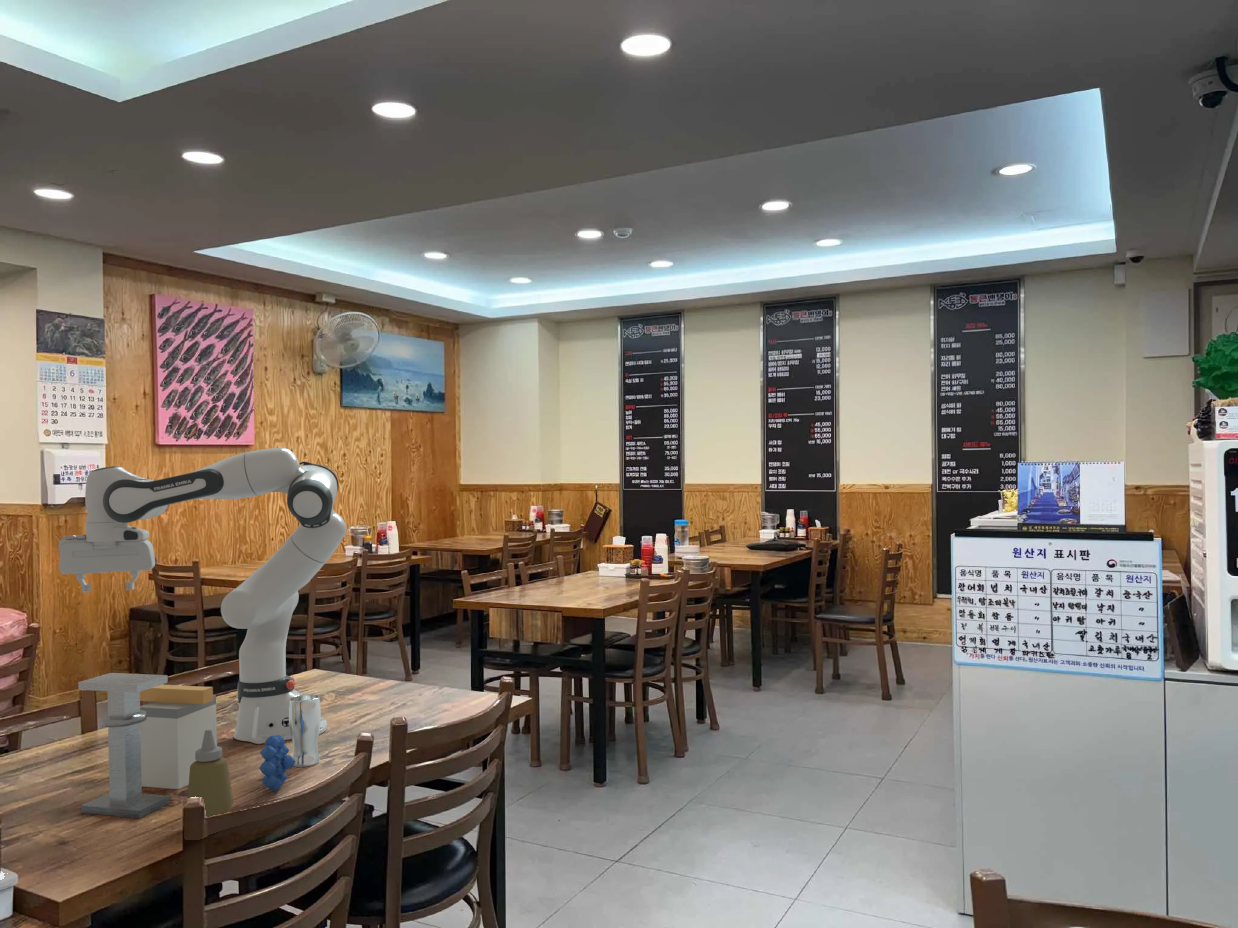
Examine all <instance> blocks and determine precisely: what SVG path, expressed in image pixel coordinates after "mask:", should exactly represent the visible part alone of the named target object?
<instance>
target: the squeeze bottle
mask: <svg viewBox="0 0 1238 928" xmlns="http://www.w3.org/2000/svg"><path fill="white" fill-rule="evenodd" d="M195 760H196V761H195V762H193V763H192V764H191V766H190V773H189V785H187V786H188V788H187V798H190V797H195V796H196V797H202V798H203V799H204V803H205V810H206V816H207V817H210V816H213V815H218V814H224V813H227V812H230V813H231V809H232V807H233V803H234V800H233V789H232V783H231V777H230V776H231V775H230V768H229V762H228V759H226V757H224V756H223V748H222V747H221V746H218V745H217V746H216V744H215V741H214V737H213V733H212V730H205V733H204V738H203V743H202V748H200V749H198V750H196V752H195ZM187 798H186V799H187Z"/></svg>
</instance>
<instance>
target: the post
mask: <svg viewBox="0 0 1238 928" xmlns="http://www.w3.org/2000/svg"><path fill="white" fill-rule="evenodd" d="M168 678H169V677H168V675H166V674H148V673H147V674H146V673H144V674H143V673H124V672H121V673H120V672H119V673H118V672H108V673H106V674H102V675H99V676H94V677H92V678H88V679H84V680H82V681H78V682H77V683H78V684H77V685H78V691H79V690H81V691H94V692H95V691H96V692H98V691H99V692H100V691H101V692H107V714H106V715H105V714H104V716H102V717H101V718H100V721H101V722H100V723H101V724H100V725H101V726H102V727H104V728H108V729H107V731H108V732H107V733H108V734H107V735H108V736H107V737H108V738H107V739H108V741H107V742H108V781H109V782H108V785H109V787H108V788H109V790H108V791H109V792H108V793H107V792H106V793H105V794H104V795H101V796H99V797H96V798H95V799H91V800H90V801H88V802H85V803H83V804H81V805H80V813H81V814H87V815H97V814H99V816H108V815H113V816H112V817H119V818H129V817H133V818H132V819H141V817H142V818H143V817H146V816H147V814H148V815H149V814H151V812H152V813H153V811H154V812H156V811H157V810H159V809H161V808H163V807H165V806H167V805H169V804H171V795H166V794H156V793H155V794H152V793H143V788H142V787H143V786H142V777H141V728H140V723H141V722H143V721H145V720H146V719H147V712H146V711H143V710H140V706H141V701H140V692H141V691H144V690H147V689H150V688H153V687H156V686H159V685H166V684H168V680H169V679H168ZM166 804H167V805H166ZM100 814H102V815H100ZM145 815H146V816H145Z"/></svg>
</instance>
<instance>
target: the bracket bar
mask: <svg viewBox="0 0 1238 928" xmlns="http://www.w3.org/2000/svg"><path fill="white" fill-rule="evenodd" d="M213 690H214V686H202V685H201V686H198V685H197V686H196V685H181V684H180V685H179V684H162V685H159V686H156V687H153V688H150V689H147V690H144V691H141V692H140V702H150V703H151V702H170V703H188V704H206V703H208V702H211V701H213V695H214V691H213Z"/></svg>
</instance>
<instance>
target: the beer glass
mask: <svg viewBox="0 0 1238 928" xmlns="http://www.w3.org/2000/svg"><path fill="white" fill-rule="evenodd" d="M320 700H321V699H320V695H319V694H315V693H306V694H305V693H304V694H303V693H302V695H297V696H294V697H291V698H290V699H289V727H290V732H291V737H292V739H291V741H292V746H293V747H292V751H293V752H292V757H293V759H294V760H295V764H294V765H293V766H292V767H295V768H305V767H306V768H307V767H312V766H315V765H317V764H319V763H320V762H321V761H320V759H321V758H320V754H319V748H318V745H319V735H320V734H319V730H320V722H321V718H322V712H321V711H322V710H321V709H322V708H321V701H320Z"/></svg>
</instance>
